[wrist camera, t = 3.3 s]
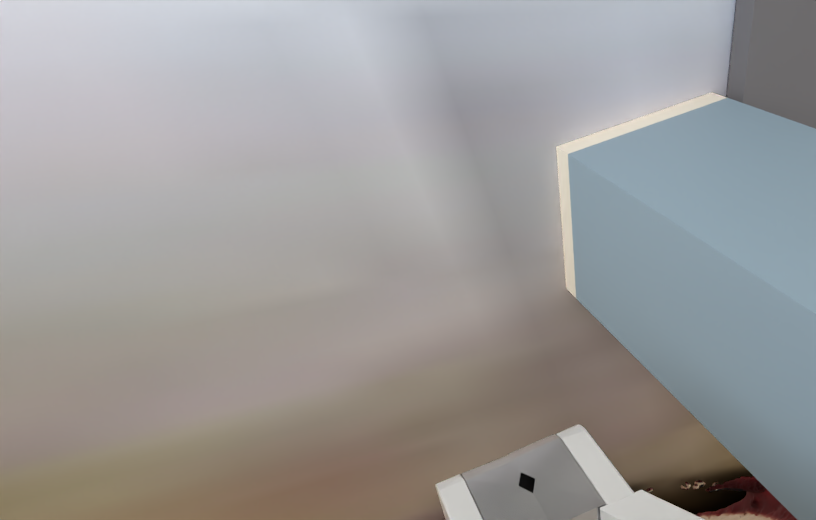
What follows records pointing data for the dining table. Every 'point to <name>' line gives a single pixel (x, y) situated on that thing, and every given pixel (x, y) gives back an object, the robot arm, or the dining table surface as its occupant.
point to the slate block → (708, 271)
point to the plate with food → (744, 501)
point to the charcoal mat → (775, 58)
